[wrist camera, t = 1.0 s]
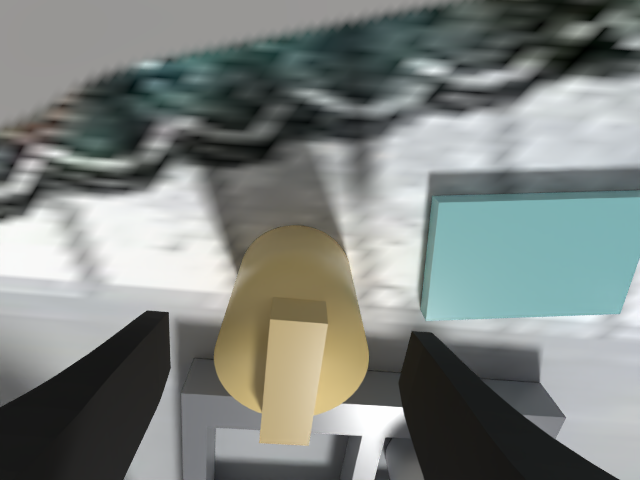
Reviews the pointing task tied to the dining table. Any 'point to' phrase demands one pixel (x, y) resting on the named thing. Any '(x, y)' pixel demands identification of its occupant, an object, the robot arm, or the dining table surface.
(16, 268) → the dining table surface
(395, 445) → the grey knob with ridge
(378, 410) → the housing
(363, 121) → the dining table surface
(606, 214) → the lid plate
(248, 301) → the beige cylinder with tab
